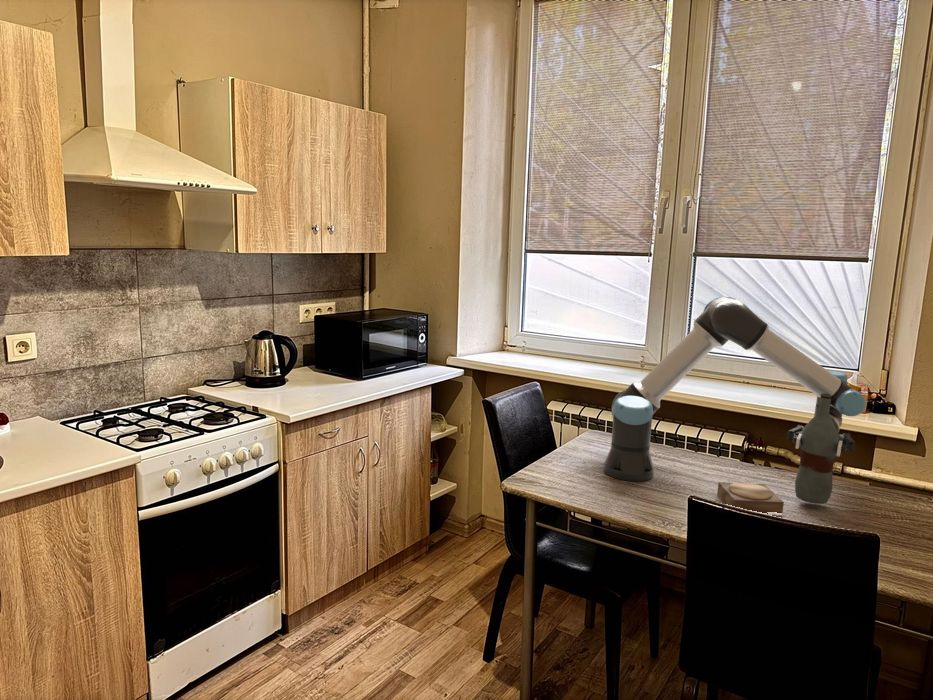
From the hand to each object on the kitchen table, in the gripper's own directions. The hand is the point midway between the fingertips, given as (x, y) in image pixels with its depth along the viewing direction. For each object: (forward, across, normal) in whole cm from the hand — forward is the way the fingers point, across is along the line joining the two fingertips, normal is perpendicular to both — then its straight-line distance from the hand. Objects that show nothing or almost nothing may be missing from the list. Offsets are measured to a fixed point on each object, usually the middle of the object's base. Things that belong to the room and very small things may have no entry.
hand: (817, 447), depth 179 cm
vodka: (-4, 0, -16) cm, 17 cm away
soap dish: (+6, +15, -18) cm, 24 cm away
